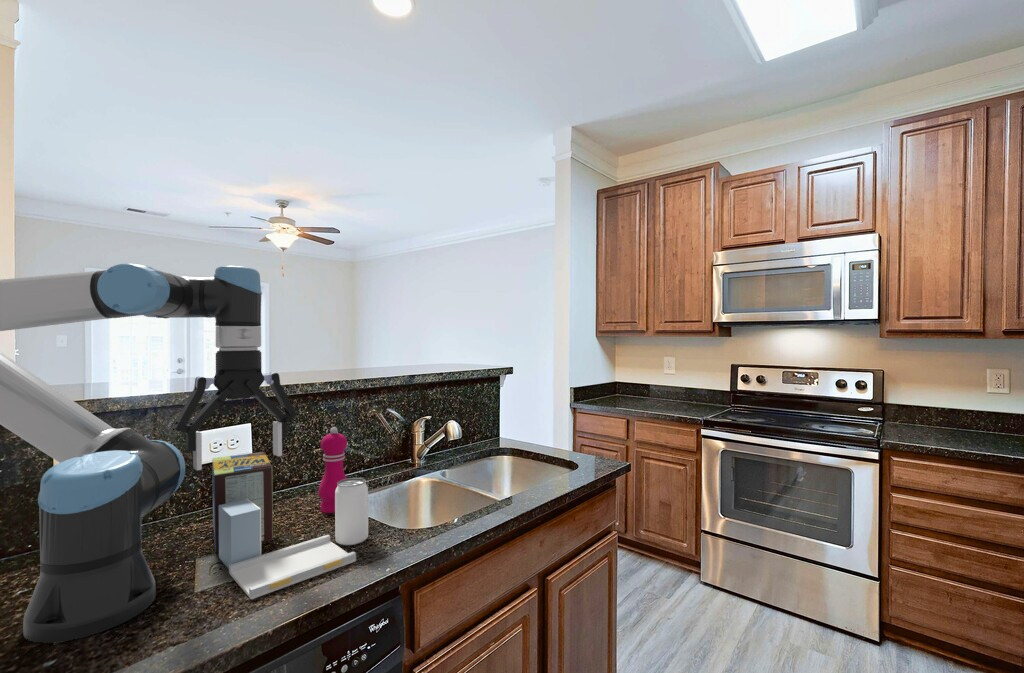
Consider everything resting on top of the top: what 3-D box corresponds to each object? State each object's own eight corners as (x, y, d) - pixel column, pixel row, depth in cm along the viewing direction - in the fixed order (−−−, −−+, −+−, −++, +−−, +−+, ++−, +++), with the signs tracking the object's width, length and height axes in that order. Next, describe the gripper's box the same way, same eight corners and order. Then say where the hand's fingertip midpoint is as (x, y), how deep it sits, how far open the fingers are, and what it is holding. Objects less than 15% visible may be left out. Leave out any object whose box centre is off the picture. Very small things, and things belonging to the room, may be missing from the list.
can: (358, 547, 95) (357, 487, 95) (328, 545, 96) (328, 485, 96) (374, 534, 101) (373, 478, 101) (346, 532, 102) (345, 476, 102)
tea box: (261, 562, 89) (261, 508, 89) (231, 571, 85) (231, 516, 85) (247, 548, 94) (247, 498, 94) (218, 557, 91) (218, 505, 91)
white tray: (251, 600, 76) (251, 590, 76) (229, 573, 85) (229, 565, 85) (356, 561, 89) (356, 553, 89) (327, 541, 97) (327, 534, 97)
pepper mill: (313, 508, 116) (313, 426, 116) (342, 501, 121) (342, 423, 121) (325, 516, 111) (324, 431, 111) (354, 508, 116) (354, 427, 116)
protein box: (265, 517, 111) (264, 450, 111) (273, 540, 98) (273, 465, 98) (212, 527, 105) (211, 457, 105) (213, 553, 92) (213, 474, 92)
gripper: (161, 351, 78) (162, 480, 78) (313, 348, 96) (313, 452, 96) (153, 350, 84) (154, 471, 84) (298, 347, 101) (298, 446, 101)
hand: (239, 461), depth 90 cm, fingers open, 13 cm apart
